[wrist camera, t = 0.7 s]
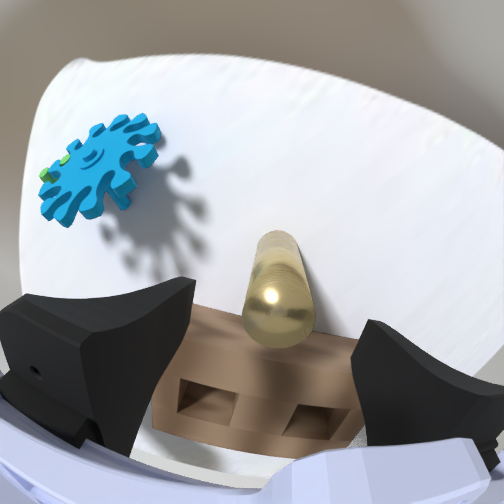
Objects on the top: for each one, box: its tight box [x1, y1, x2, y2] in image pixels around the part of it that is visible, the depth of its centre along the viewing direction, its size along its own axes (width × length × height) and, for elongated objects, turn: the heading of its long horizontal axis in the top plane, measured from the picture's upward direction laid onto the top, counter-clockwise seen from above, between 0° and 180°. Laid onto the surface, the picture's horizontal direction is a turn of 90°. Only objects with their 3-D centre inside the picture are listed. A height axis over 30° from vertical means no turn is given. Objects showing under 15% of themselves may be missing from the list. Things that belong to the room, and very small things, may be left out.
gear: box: [38, 113, 161, 228], centre depth 18 cm, size 11×6×10 cm
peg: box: [242, 231, 316, 348], centre depth 16 cm, size 3×3×10 cm
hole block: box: [152, 304, 365, 459], centre depth 22 cm, size 18×12×5 cm, turn 77°
